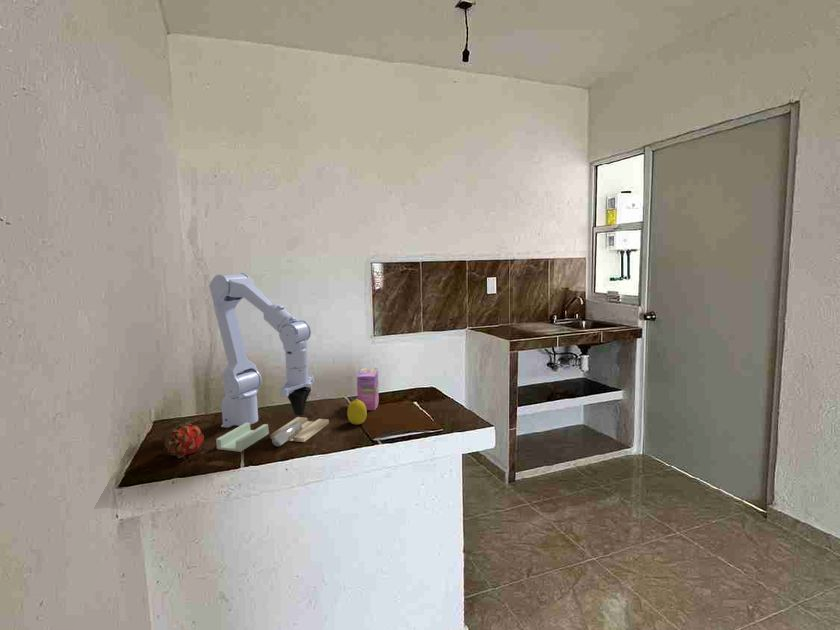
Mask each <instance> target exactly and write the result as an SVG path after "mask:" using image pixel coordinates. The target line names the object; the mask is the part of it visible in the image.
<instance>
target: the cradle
mask: <svg viewBox="0 0 840 630" xmlns="http://www.w3.org/2000/svg"><path fill="white" fill-rule="evenodd" d="M267 435H270V431H269V424H267V423H264V424H262V425H260V426H259V427H257V428H255V429H251V424H250V423H244V424H243V425H241V426H238V427H236V428H234V429H232V430H230V431H228V432H226V433H225V434H223V435H221V436H219V437H217V438H215V442H216V443H215V445H216V450H224V451H233V452H240V453H241V452H243V451H244V450H246V449H248V448H249V447H250V446H252V445H254V444H255V443H257V442H259V440H261V439H263V438H264V437H266V436H267Z"/></svg>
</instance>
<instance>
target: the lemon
mask: <svg viewBox="0 0 840 630" xmlns="http://www.w3.org/2000/svg"><path fill="white" fill-rule="evenodd" d="M367 411H368V410H366V406H365V404H364V403H363V402H362V401H360V400H358V399H357V398H355V399H354V400H352V401H351V402H349V404H348V406H347V419H348V421H349V422H350V424H353V425H354V426H355V425H361V424H363V423H364V422H365V421H366V419H367V415H368V414H367Z"/></svg>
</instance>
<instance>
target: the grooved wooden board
mask: <svg viewBox="0 0 840 630" xmlns="http://www.w3.org/2000/svg"><path fill="white" fill-rule="evenodd" d="M296 421H298V422H300V423H301V425H302V430H301V431H300V432H299V433H297V434H296V435H295V436H293V437H292V438H290V439H289V440H288V441H289V442H299V443H300V442H301V443H305V442H306V441H307V440H309V439H310V438H312V437H313V436H314V435H315V434H317V433H318V432H319V431H321V430H322V429H323V428H324V427H326V426H328V424H330V419H325V418H318V419H316V420H315V421H312V420H311V421H310V420H308V417H302V416H301V417H300V416H297V417H295V418H294V419H293V420H291V421H289V422H287V423H286V424H284V425H283V426H281V427H280V428H278V429H277V430H275V431H273V432H272V433H270V434H269V437H270V439H271V440H272V437H273V436H274V435H276V434H277V433H279V432H280V431H282V430H283V429H285V428H286V427H288V426H289V425H291V424H292V423H294V422H296ZM288 441H287V442H288Z"/></svg>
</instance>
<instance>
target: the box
mask: <svg viewBox="0 0 840 630" xmlns="http://www.w3.org/2000/svg"><path fill="white" fill-rule="evenodd" d="M356 391H357V393H356V396H357V398H356V399H358V400H360V401H362V402H363V403H364V404H365V406H366V410H367V411H375V410H377V409H378V406H379V400H380V399H379V398H380V397H379V395H380V393H379V368H377V367H362V368H360V369H359V372H358V374H357V376H356ZM376 408H377V409H376Z"/></svg>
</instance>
